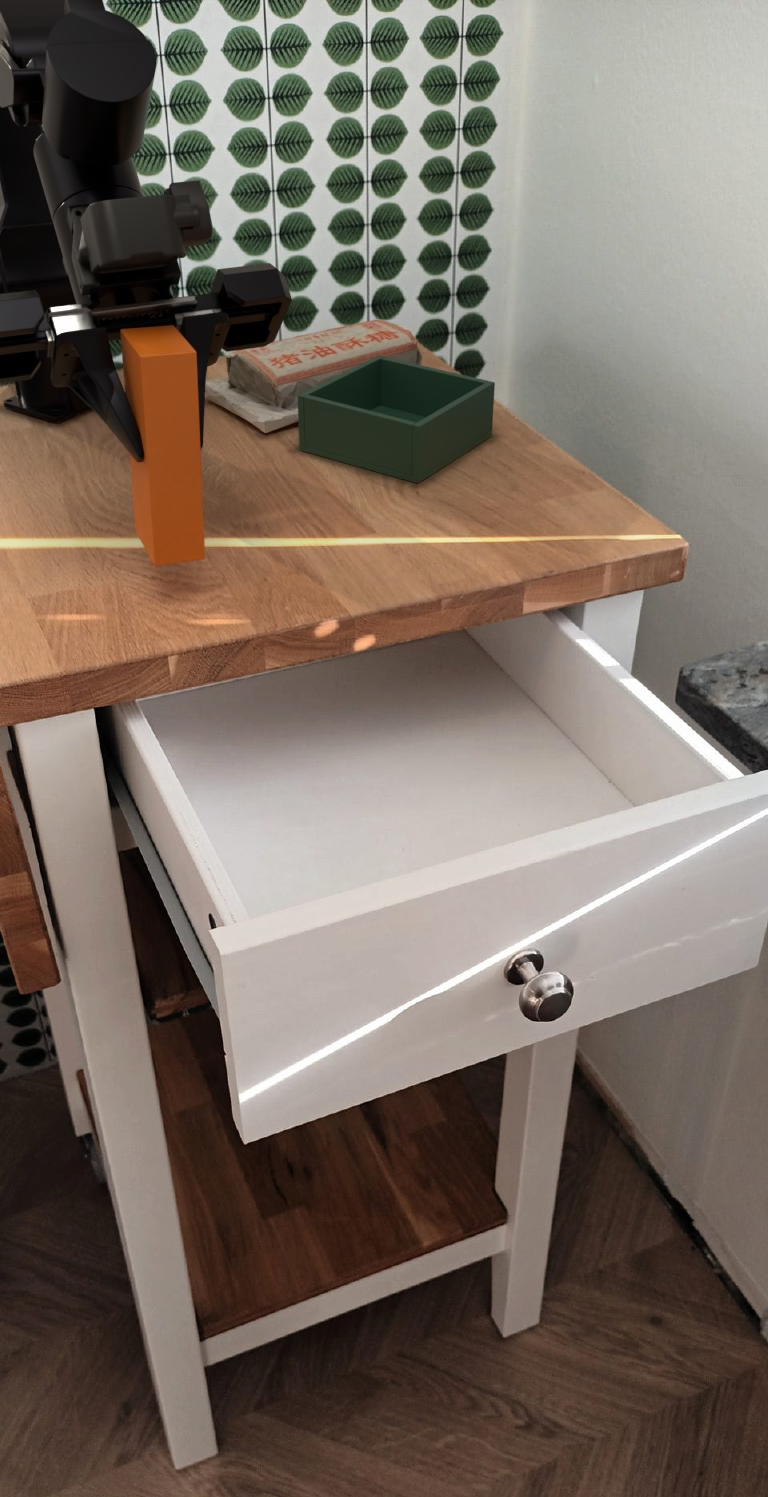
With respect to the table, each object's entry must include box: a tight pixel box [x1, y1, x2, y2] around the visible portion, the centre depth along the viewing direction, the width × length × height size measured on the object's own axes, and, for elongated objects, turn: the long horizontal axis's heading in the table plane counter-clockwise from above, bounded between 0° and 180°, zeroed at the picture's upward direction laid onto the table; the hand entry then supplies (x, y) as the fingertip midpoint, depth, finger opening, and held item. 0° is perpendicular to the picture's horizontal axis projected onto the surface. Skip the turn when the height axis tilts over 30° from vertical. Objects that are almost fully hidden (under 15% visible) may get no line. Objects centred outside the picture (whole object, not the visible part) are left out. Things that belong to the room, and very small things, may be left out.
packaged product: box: [205, 319, 423, 434], centre depth 107 cm, size 18×5×10 cm
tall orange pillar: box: [120, 325, 206, 567], centre depth 75 cm, size 5×3×13 cm, turn 23°
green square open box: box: [297, 356, 496, 484], centre depth 99 cm, size 11×11×4 cm
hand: (170, 454), depth 74 cm, fingers closed on tall orange pillar, 3 cm apart
